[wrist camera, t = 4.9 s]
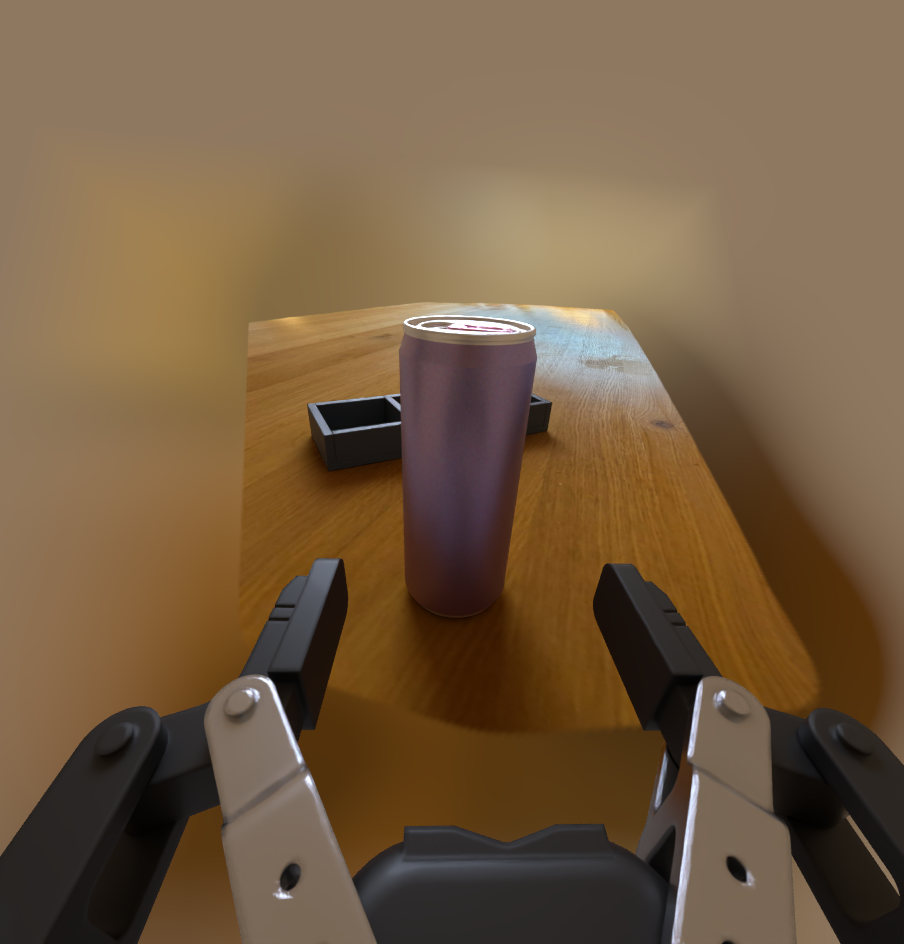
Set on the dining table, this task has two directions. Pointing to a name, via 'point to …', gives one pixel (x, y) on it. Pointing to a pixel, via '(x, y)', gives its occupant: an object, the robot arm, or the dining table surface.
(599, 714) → the dining table surface
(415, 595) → the beverage can
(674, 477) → the dining table surface
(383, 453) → the compartment tray
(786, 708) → the dining table surface
